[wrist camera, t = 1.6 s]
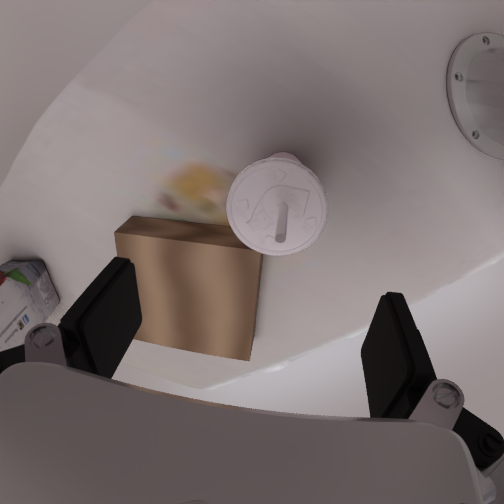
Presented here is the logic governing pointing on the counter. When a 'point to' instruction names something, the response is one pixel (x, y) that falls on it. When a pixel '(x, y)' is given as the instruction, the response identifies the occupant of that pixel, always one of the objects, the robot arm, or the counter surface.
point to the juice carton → (23, 300)
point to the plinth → (193, 285)
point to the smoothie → (277, 205)
